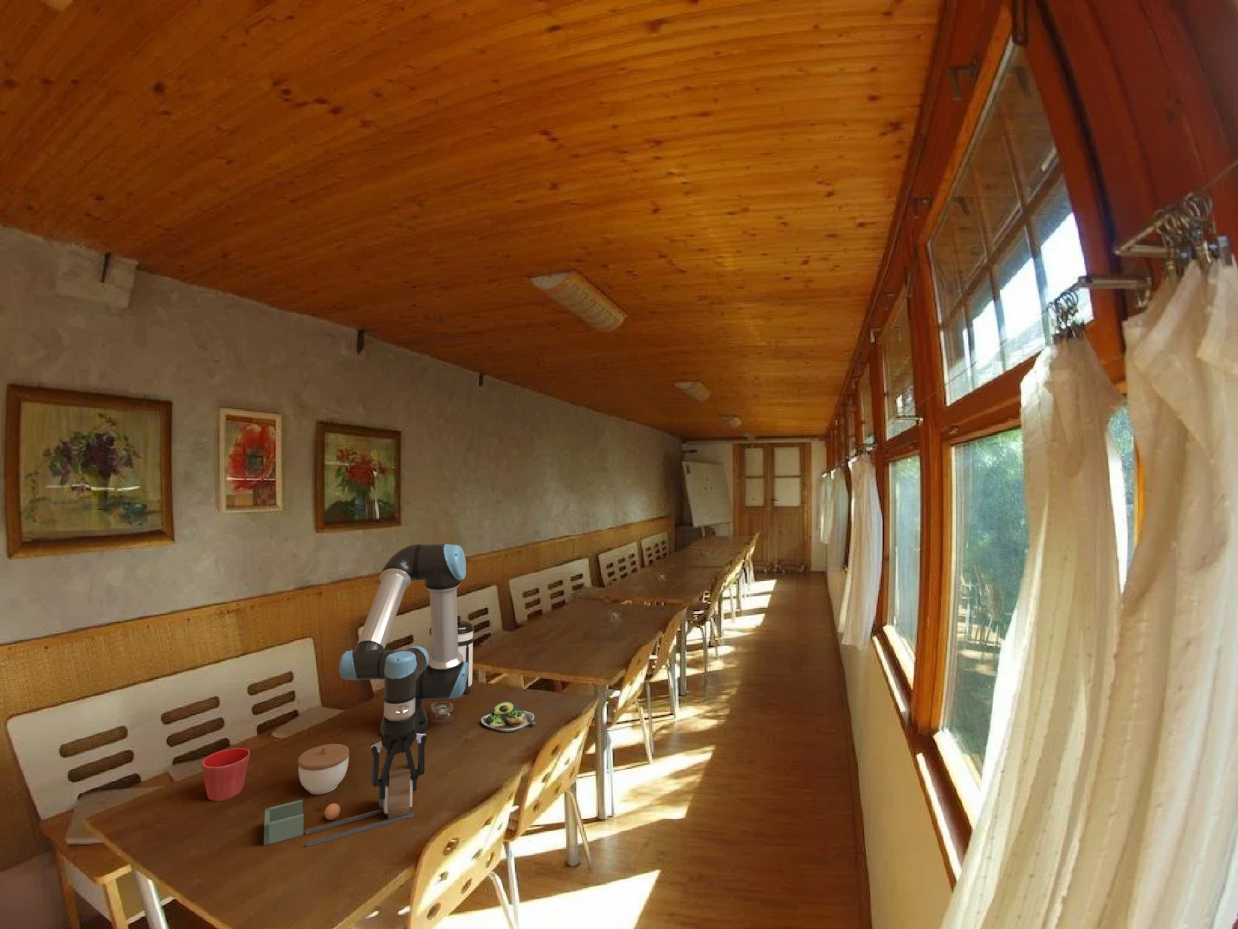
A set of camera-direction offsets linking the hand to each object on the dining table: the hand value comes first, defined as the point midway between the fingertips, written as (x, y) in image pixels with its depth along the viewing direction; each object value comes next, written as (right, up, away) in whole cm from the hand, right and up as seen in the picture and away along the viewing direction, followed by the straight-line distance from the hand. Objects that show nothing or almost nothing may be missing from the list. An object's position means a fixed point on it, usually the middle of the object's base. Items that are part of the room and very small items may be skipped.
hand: (397, 807), depth 144 cm
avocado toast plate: (+17, -4, +56) cm, 59 cm away
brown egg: (-16, -2, -2) cm, 16 cm away
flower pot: (-50, -2, +9) cm, 51 cm away
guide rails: (-7, -2, -4) cm, 9 cm away
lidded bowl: (-25, -2, +12) cm, 28 cm away
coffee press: (-9, -4, +84) cm, 84 cm away
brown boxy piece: (-2, -2, +2) cm, 3 cm away
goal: (-25, -1, -7) cm, 26 cm away
